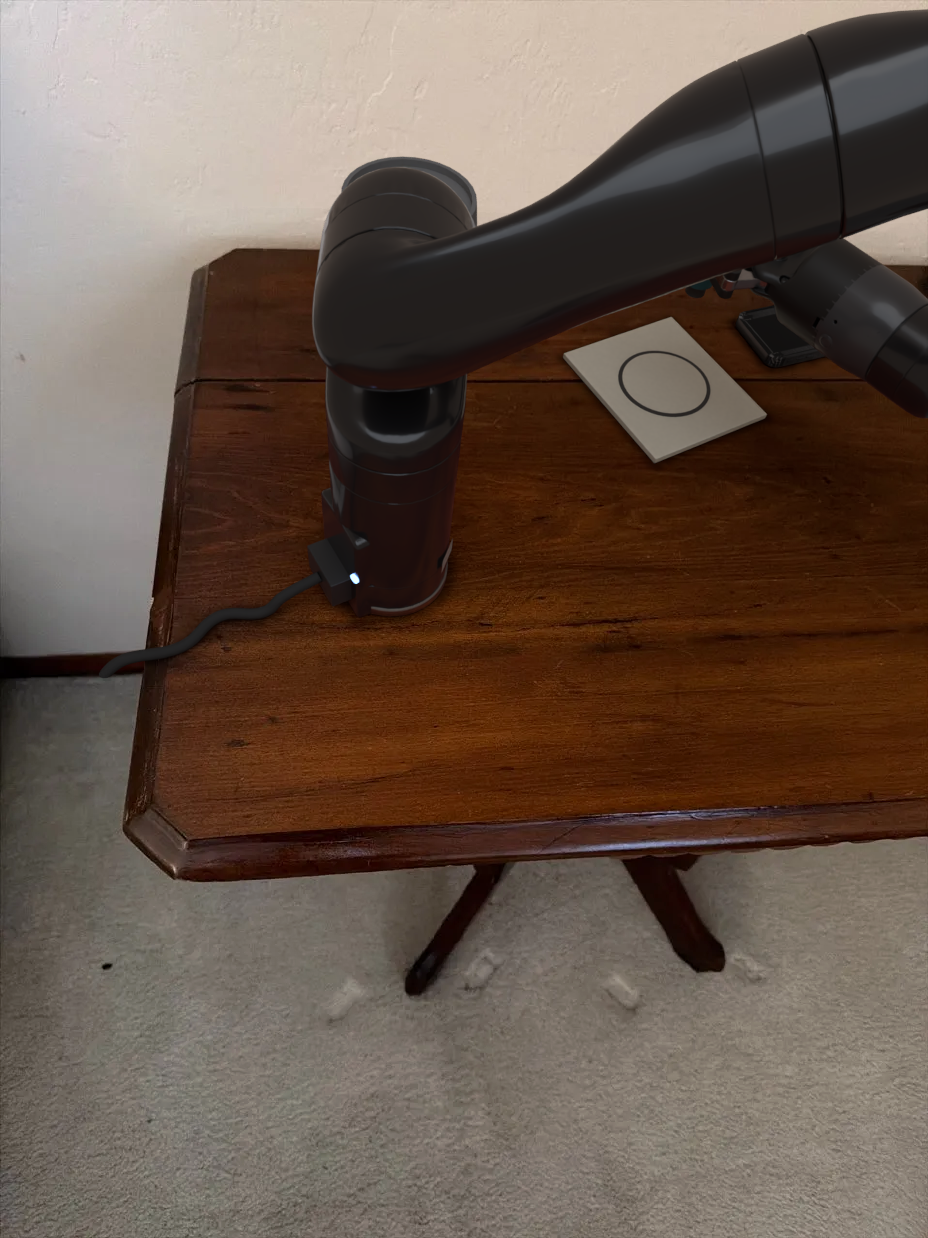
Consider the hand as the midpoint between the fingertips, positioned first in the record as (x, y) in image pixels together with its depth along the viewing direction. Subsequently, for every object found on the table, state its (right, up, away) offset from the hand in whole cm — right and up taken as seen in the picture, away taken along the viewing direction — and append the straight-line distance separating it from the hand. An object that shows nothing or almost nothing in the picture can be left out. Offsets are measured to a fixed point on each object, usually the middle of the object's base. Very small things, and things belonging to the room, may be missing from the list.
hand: (696, 199), depth 76 cm
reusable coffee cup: (-26, -7, +15) cm, 31 cm away
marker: (+1, -6, +5) cm, 8 cm away
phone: (+17, -5, +20) cm, 27 cm away
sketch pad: (0, -13, +13) cm, 18 cm away
